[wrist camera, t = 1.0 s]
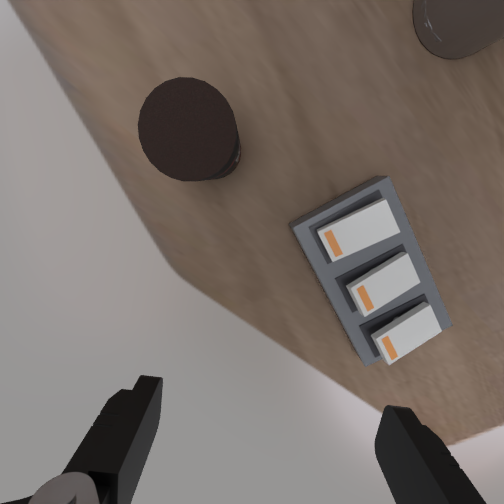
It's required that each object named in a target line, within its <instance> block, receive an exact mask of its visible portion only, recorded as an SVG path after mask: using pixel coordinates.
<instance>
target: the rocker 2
mask: <svg viewBox="0 0 504 504" xmlns="http://www.w3.org/2000/svg"><path fill="white" fill-rule="evenodd" d="M419 283H420V280H419V278H418V275H417V273H416V271H415V269H414V266H413V264H412V262H411V259H410V257H409V255H408V253H405V252H400V253H399V254H397V255H395V256H394V257H392V258H390V259H389V260H387V261H386V262H384V263H382V264H381V265H379V266H377V267H376V268H373V269H371V270H370V271H369V272H368V273H366V274H364V275H363V276H361V277H359V278H358V279H356V280H355V281H353V282H351V283H350V284H348V285H346V287H347V289H348V291H349V293H350V295H351V297H352V299H353V301H354V303H355V305H356V307H357V309H358V311H359V313H360V314H361V315H363V316H364V317H366V316H367V315H369V314H370V313H372V312H374V311H375V310H377V309H378V308H380V307H382V306H383V305H385V304H386V303H388V302H390V301H391V300H393V299H395V298H396V297H398V296H399V295H401V294H403V293H404V292H406V291H407V290H409V289H411V288H412V287H414V286H415V285H417V284H419Z"/></svg>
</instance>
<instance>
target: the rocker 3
mask: <svg viewBox="0 0 504 504" xmlns="http://www.w3.org/2000/svg"><path fill="white" fill-rule="evenodd" d="M440 332H442V330H441V328H440V326H439V323H438V321H437V319H436V317H435V314H434V312H433V310H432V307H431V305H430V304H428V303H425V302H422V303H421V304H419V305H418V306H416V307H414V308H413V309H411V310H410V311H408V312H407V313H405V314H403V315H402V316H400V317H395V318H394V319H393V321H392V322H391V323H389V324H388V325H386V326H384V327H383V328H381V329H380V330H378V331H376V332H375V333H373V334H372V335H371V337H372V339H373V341H374V343H375V345H376V346H377V348H378V350H379V352H380V354H381V356H382V358H383V360H384V361H385V362H386V363H387V364H388V365H390V364H392V363H393V362H395V361H396V360H398V359H399V358H401V357H403V356H404V355H406V354H407V353H409V352H410V351H412V350H414V349H415V348H417V347H418V346H420V345H421V344H423V343H424V342H426V341H428V340H429V339H431V338H432V337H434V336H435V335H437V334H438V333H440Z"/></svg>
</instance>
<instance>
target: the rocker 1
mask: <svg viewBox="0 0 504 504" xmlns="http://www.w3.org/2000/svg"><path fill="white" fill-rule="evenodd" d="M317 232H318V234H319V236H320V238H321V240H322V242H323V244H324V246H325V248H326V250H327V252H328V254H329V256H330V258H331V260H332V262H334V261H336V260H339V259H341V258H343V257H345V256H348V255H350V254H352V253H355V252H357V251H359V250H361V249H364V248H366V247H368V246H370V245H373V244H375V243H377V242H379V241H382V240H384V239H386V238H388V237H391V236H393V235H395V234H398V233H400V230H399V228H398V226H397V223H396V221H395V219H394V216H393V214H392V212H391V209H390V207H389V205H388V203H387V200H386V199H385V198H381V199H379V200H377V201H375V202H373V203H371V204H369V205H367V206H365V207H363V208H360V209H358V210H356V211H354V212H352V213H350V214H348V215H346V216H344V217H342V218H340V219H337V220H335V221H333V222H331V223H329V224H327V225H325V226H323V227H321V228H319V229H317Z"/></svg>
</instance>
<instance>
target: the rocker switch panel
mask: <svg viewBox="0 0 504 504" xmlns="http://www.w3.org/2000/svg"><path fill="white" fill-rule="evenodd" d="M381 198H385V199H386V200H387V203H388V205H389V207H390V209H391V212H392V214H393V216H394V219H395V221H396V223H397V226H398V228H399V230H400V233H398V234H395V235H393V236H391V237H388V238H386V239H384V240H382V241H379V242H377V243H375V244H373V245H370V246H368V247H366V248H364V249H361V250H359V251H357V252H355V253H352V254H350V255H348V256H345V257H343V258H341V259H339V260H336V261H334V262H332V260H331V258H330V256H329V254H328V252H327V250H326V248H325V246H324V244H323V242H322V240H321V238H320V236H319V234H318V232H317V229H319V228H321V227H323V226H325V225H327V224H329V223H331V222H333V221H335V220H337V219H340V218H342V217H344V216H346V215H348V214H350V213H352V212H354V211H356V210H358V209H360V208H363V207H365V206H367V205H369V204H371V203H373V202H375V201H377V200H379V199H381ZM289 225H290V227H291V229H292V231H293V233H294V235H295V237H296V238H297V240H298V242H299V244H300V246H301V248H302V250H303V252H304V254H305V256H306V257H307V259H308V261H309V263H310V265H311V267H312V269H313V271H314V273H315V275H316V277H317V278H318V280H319V282H320V284H321V286H322V288H323V290H324V292H325V294H326V296H327V298H328V299H329V301H330V303H331V305H332V307H333V309H334V311H335V313H336V315H337V317H338V318H339V320H340V322H341V324H342V326H343V328H344V330H345V332H346V334H347V336H348V338H349V339H350V341H351V343H352V345H353V347H354V349H355V351H356V353H357V354H358V356H359V358H360V359H361V361H362V362H363V364H364V366H365V367H366V366H368V365H370V364H372V363H374V362H377V361H379V360H381V359H383V358H382V356H381V354H380V352H379V350H378V348H377V346H376V345H375V343H374V341H373V339H372V337H371V335H372V334H373V333H375V332H376V331H378V330H380V329H381V328H383V327H384V326H386V325H388V324H389V323H391V322H392V321H393V319H394V318H395V317H400V316H402V315H403V314H405V313H407V312H408V311H410V310H411V309H413V308H414V307H416V306H418V305H419V304H421V303H422V302H425V303H428V304H430V305H431V307H432V310H433V312H434V314H435V317H436V319H437V321H438V323H439V326H440V328H441V330H444V329H446V328H448V327H450V326H452V322H451V320H450V318H449V315H448V313H447V311H446V308H445V306H444V304H443V301H442V299H441V297H440V294H439V292H438V290H437V287H436V285H435V282H434V280H433V278H432V275H431V273H430V271H429V268H428V266H427V264H426V261H425V259H424V257H423V254H422V252H421V250H420V247H419V245H418V243H417V240H416V238H415V235H414V233H413V231H412V228H411V226H410V224H409V221H408V219H407V217H406V214H405V212H404V210H403V207H402V205H401V203H400V200H399V198H398V195H397V193H396V191H395V188H394V186H393V184H392V181H391V179H390V177H389V176H376V177H374V178H372V179H371V180H369V181H367V182H365V183H363V184H361V185H359V186H358V187H356V188H354V189H352V190H350V191H348V192H347V193H345V194H343V195H341V196H339V197H337V198H335V199H334V200H332V201H330V202H328V203H326V204H324V205H323V206H321V207H319V208H317V209H315V210H313V211H311V212H310V213H308V214H306V215H304V216H302V217H300V218H298V219H297V220H295V221H293V222H291V223H289ZM400 252H405V253H408V255H409V257H410V259H411V262H412V264H413V266H414V269H415V271H416V273H417V275H418V278H419V280H420V283H419V284H417V285H415V286H414V287H412V288H411V289H409V290H407V291H406V292H404V293H403V294H401V295H399V296H398V297H396V298H395V299H393V300H391V301H390V302H388V303H386V304H385V305H383V306H382V307H380V308H378V309H377V310H375V311H374V312H372V313H370V314H369V315H367V316H366V317H364V316H363V315H361V314H360V313H359V311H358V309H357V307H356V305H355V303H354V301H353V299H352V297H351V295H350V293H349V291H348V289H347V287H346V285H348V284H350V283H351V282H353V281H355V280H356V279H358V278H359V277H361V276H363V275H364V274H366V273H368V272H369V271H370V270H371V269H373V268H376V267H377V266H379V265H381V264H382V263H384V262H386V261H387V260H389V259H390V258H392V257H394V256H395V255H397V254H399V253H400Z"/></svg>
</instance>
